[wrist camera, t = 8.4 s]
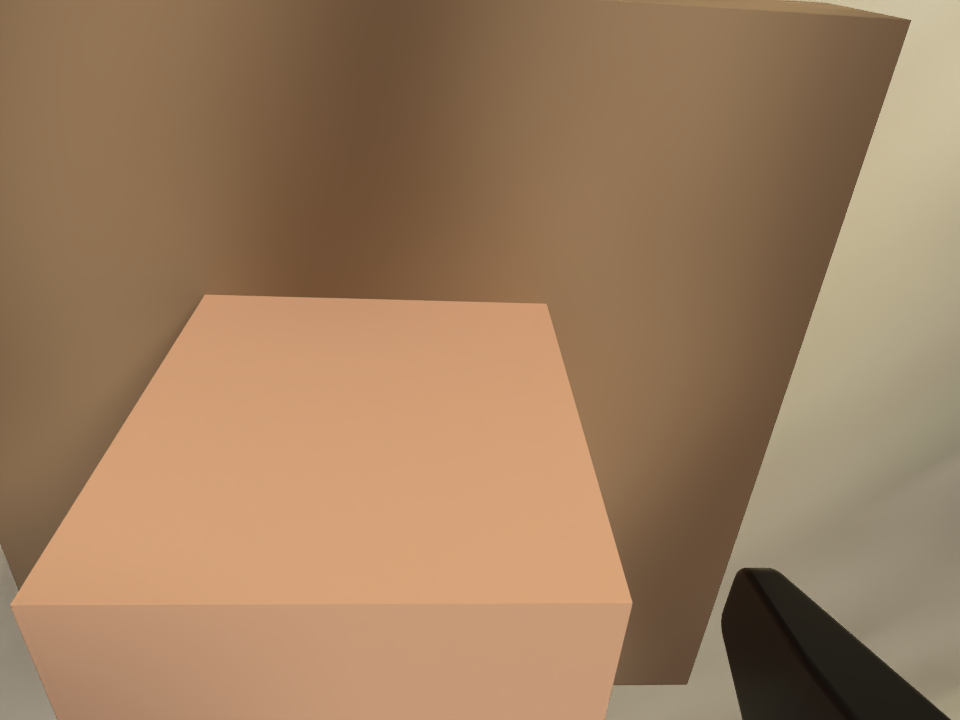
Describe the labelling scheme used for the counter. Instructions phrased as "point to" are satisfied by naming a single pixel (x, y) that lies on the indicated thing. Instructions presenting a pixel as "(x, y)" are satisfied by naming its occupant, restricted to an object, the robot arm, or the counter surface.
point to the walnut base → (441, 221)
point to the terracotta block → (338, 527)
